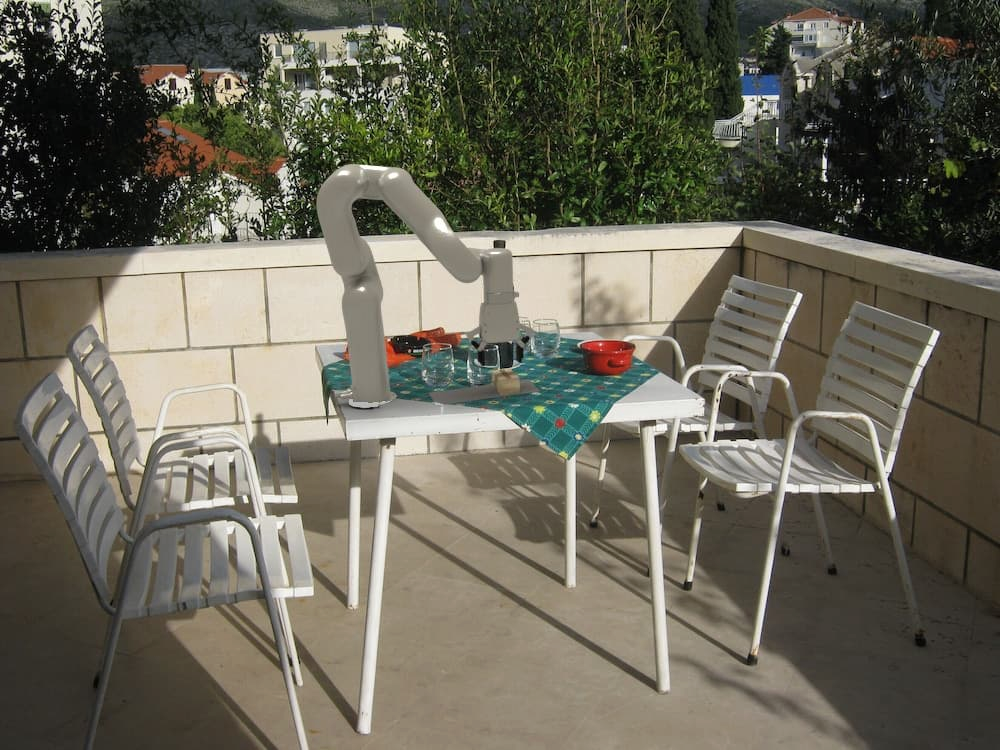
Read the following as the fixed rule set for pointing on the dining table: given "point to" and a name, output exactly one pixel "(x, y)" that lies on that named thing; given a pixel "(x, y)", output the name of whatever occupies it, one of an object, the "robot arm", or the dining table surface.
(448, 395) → the rubber mat
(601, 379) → the dining table surface
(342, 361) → the dining table surface
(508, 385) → the birch tile
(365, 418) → the dining table surface
